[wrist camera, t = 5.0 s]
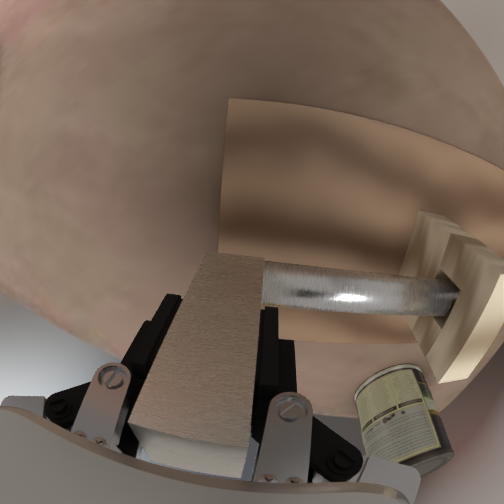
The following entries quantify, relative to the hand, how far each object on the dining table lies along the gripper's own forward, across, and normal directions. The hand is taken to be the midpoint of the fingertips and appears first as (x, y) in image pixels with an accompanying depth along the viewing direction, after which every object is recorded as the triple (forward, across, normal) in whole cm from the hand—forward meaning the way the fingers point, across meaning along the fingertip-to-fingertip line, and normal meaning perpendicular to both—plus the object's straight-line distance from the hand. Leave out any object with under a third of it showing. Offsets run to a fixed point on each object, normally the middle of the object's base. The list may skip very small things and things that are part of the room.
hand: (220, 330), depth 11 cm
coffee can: (+12, -21, +20) cm, 31 cm away
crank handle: (+5, -8, 0) cm, 9 cm away
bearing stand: (+12, -14, 0) cm, 18 cm away
